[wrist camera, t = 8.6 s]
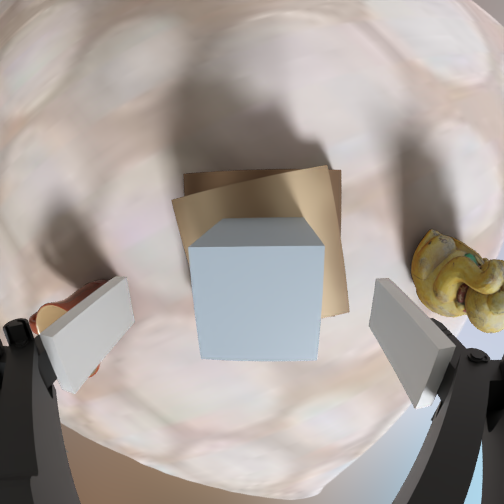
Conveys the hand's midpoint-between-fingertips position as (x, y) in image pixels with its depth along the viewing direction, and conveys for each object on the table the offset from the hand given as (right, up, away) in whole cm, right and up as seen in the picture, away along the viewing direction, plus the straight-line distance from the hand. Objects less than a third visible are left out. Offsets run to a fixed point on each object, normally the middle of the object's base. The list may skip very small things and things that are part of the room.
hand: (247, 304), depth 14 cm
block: (+1, +2, +8) cm, 8 cm away
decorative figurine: (+21, +1, +14) cm, 26 cm away
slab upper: (+1, +3, +12) cm, 12 cm away
